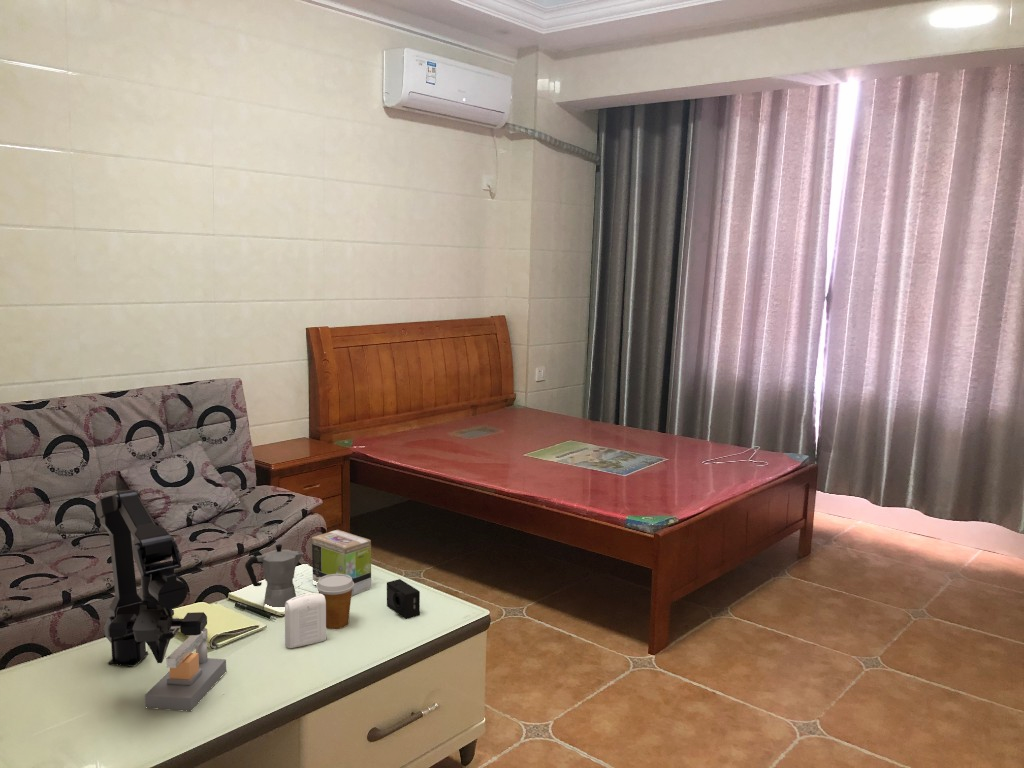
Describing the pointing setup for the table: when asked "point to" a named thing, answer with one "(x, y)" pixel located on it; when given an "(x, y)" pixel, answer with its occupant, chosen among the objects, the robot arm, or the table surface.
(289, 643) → the white rounded block
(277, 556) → the coffeepot
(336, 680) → the table surface
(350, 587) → the disposable coffee cup
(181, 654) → the retention bar
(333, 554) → the tea box
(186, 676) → the plug
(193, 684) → the socket block
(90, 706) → the table surface
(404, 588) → the digital camera
